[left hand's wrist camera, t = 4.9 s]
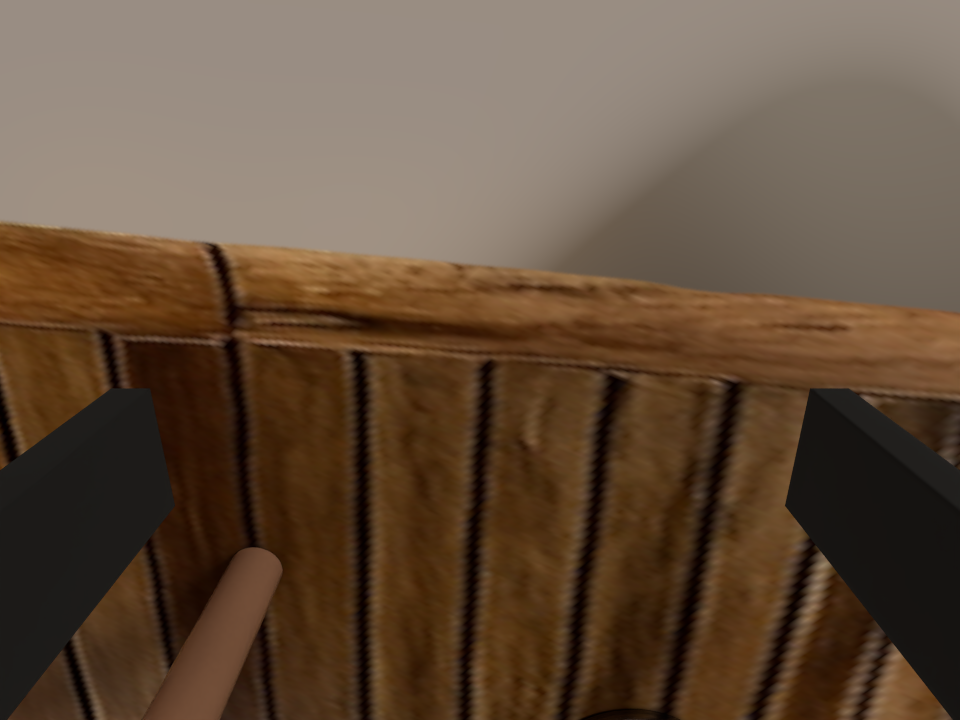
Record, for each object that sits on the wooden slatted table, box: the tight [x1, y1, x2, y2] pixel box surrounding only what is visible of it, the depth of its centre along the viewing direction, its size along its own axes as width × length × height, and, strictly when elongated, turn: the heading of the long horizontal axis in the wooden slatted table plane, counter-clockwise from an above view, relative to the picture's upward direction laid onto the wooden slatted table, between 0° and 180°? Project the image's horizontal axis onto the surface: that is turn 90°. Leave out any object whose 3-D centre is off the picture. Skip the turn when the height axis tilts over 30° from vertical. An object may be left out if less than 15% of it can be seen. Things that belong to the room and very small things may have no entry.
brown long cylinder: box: [142, 547, 283, 720], centre depth 40 cm, size 4×4×18 cm
